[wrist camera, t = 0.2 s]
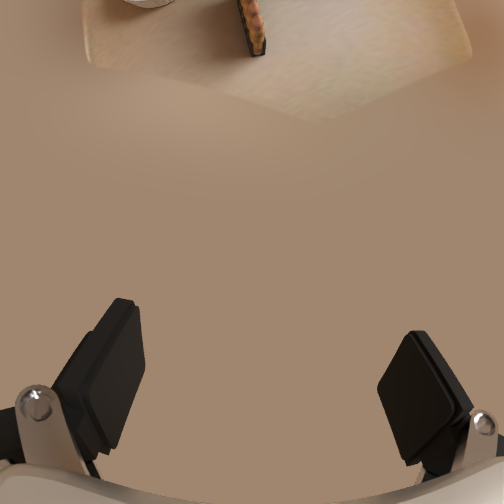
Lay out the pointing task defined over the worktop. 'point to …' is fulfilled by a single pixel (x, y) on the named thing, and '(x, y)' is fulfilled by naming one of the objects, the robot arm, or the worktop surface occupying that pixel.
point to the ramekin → (149, 3)
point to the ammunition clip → (253, 26)
